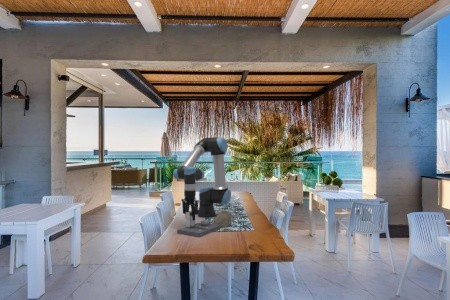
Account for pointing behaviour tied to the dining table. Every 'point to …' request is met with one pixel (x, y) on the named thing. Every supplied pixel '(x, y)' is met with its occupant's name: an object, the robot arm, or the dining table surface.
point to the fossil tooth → (222, 219)
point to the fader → (188, 219)
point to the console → (199, 229)
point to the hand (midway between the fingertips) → (190, 224)
